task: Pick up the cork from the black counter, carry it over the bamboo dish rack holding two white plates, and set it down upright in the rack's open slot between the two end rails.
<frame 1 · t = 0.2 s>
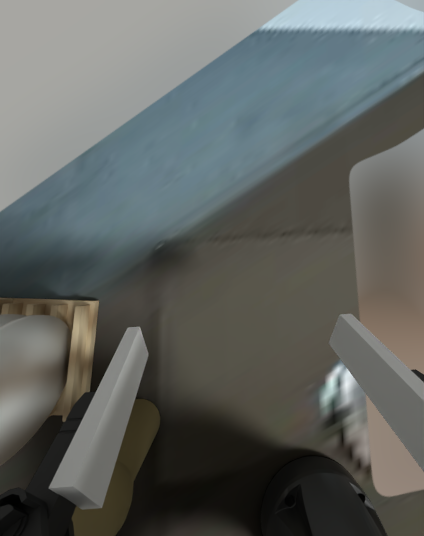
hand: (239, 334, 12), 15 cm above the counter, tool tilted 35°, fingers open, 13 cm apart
cork: (139, 420, 25), on the counter
rack: (12, 352, 25), on the counter
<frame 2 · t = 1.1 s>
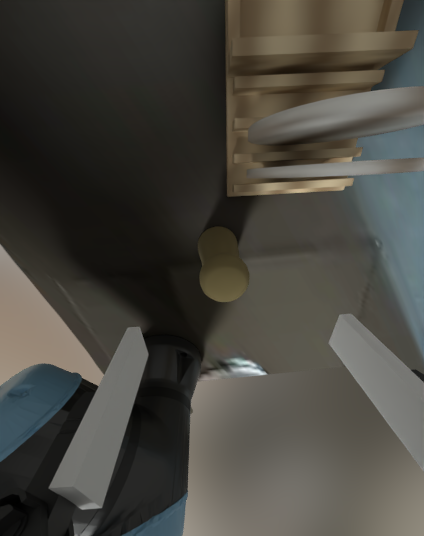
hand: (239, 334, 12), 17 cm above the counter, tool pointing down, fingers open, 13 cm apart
cork: (217, 245, 27), on the counter
rack: (297, 78, 19), on the counter
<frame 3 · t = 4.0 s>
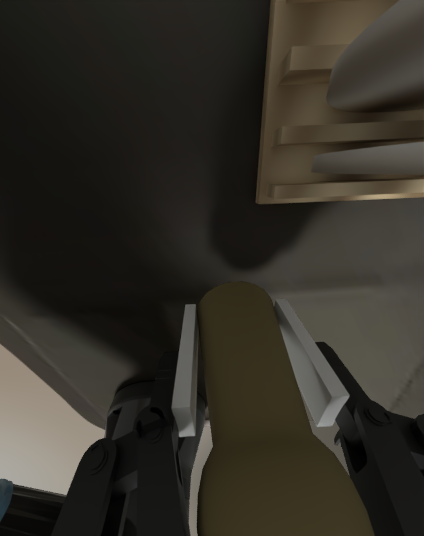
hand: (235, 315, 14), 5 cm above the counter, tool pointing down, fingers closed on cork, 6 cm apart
cork: (234, 312, 14), point 5 cm above the counter, touching gripper
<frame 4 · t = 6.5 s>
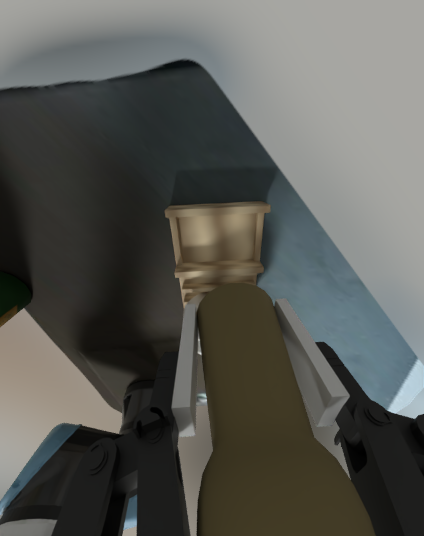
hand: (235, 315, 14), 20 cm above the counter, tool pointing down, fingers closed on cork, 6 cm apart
bottle: (9, 288, 35), on the counter
cork: (234, 313, 14), point 20 cm above the counter, touching gripper
rack: (217, 263, 34), on the counter
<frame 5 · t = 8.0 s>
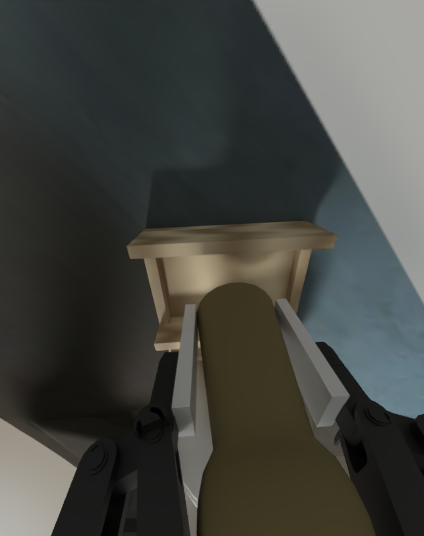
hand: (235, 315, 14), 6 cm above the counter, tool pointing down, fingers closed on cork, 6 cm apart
cork: (234, 313, 14), point 6 cm above the counter, touching gripper
rack: (226, 314, 22), on the counter
when the fingers open (2 cm above the counter, at t = 9.0 s): cork drops 1 cm, resting on rack.
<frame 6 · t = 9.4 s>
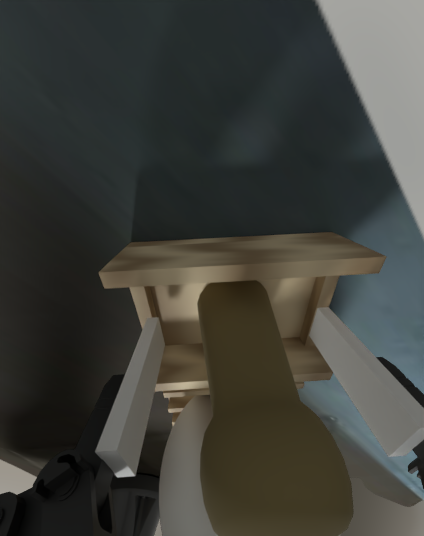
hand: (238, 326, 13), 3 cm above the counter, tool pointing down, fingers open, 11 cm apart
cork: (232, 304, 15), point 1 cm above the counter, touching rack
rack: (230, 339, 18), on the counter
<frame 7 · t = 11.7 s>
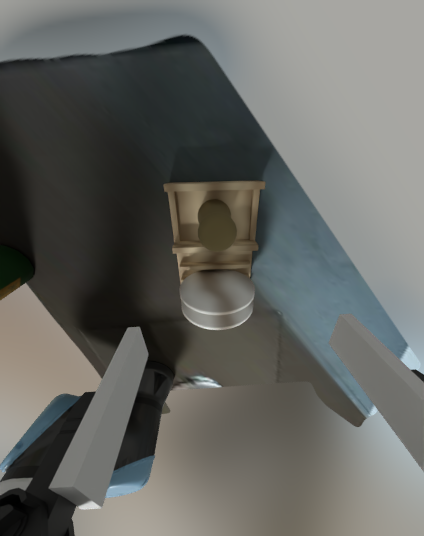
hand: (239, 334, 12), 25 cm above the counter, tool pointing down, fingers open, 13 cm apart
bottle: (13, 263, 36), on the counter
cork: (214, 216, 32), point 1 cm above the counter, touching rack
rack: (214, 243, 35), on the counter
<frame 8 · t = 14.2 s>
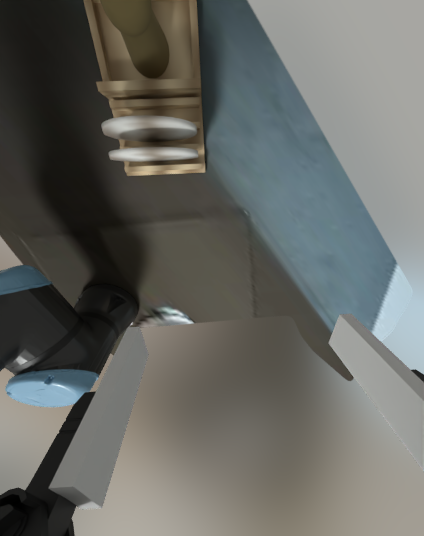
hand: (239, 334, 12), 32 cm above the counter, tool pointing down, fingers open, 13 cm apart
cork: (149, 51, 27), point 1 cm above the counter, touching rack
rack: (157, 100, 30), on the counter
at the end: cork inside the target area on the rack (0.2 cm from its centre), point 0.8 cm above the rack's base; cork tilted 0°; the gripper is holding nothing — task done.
